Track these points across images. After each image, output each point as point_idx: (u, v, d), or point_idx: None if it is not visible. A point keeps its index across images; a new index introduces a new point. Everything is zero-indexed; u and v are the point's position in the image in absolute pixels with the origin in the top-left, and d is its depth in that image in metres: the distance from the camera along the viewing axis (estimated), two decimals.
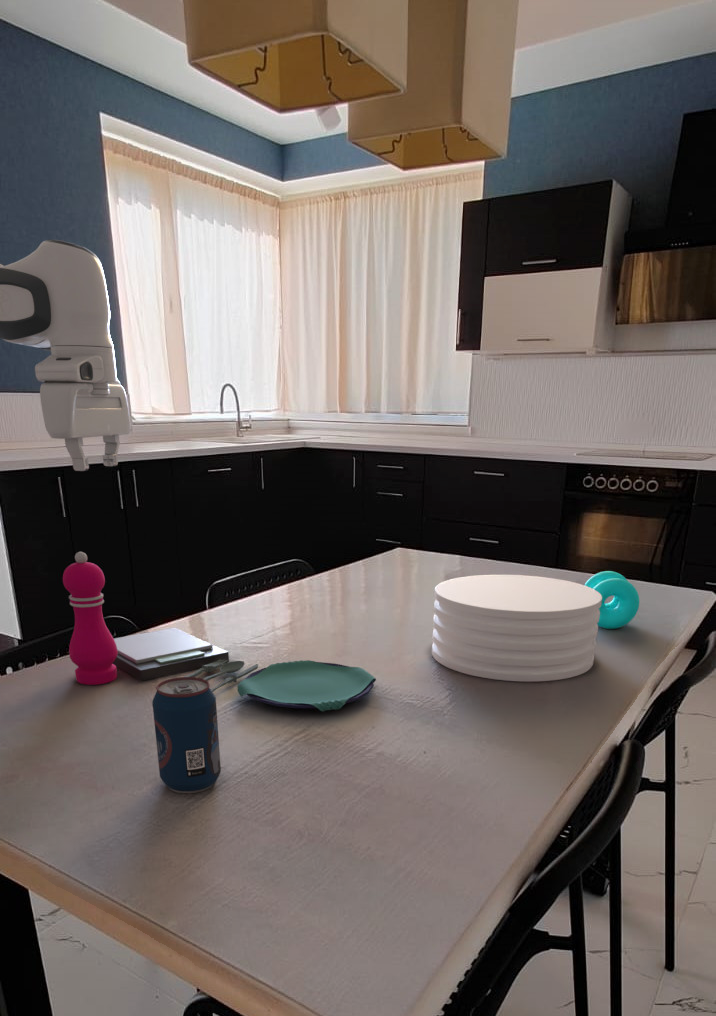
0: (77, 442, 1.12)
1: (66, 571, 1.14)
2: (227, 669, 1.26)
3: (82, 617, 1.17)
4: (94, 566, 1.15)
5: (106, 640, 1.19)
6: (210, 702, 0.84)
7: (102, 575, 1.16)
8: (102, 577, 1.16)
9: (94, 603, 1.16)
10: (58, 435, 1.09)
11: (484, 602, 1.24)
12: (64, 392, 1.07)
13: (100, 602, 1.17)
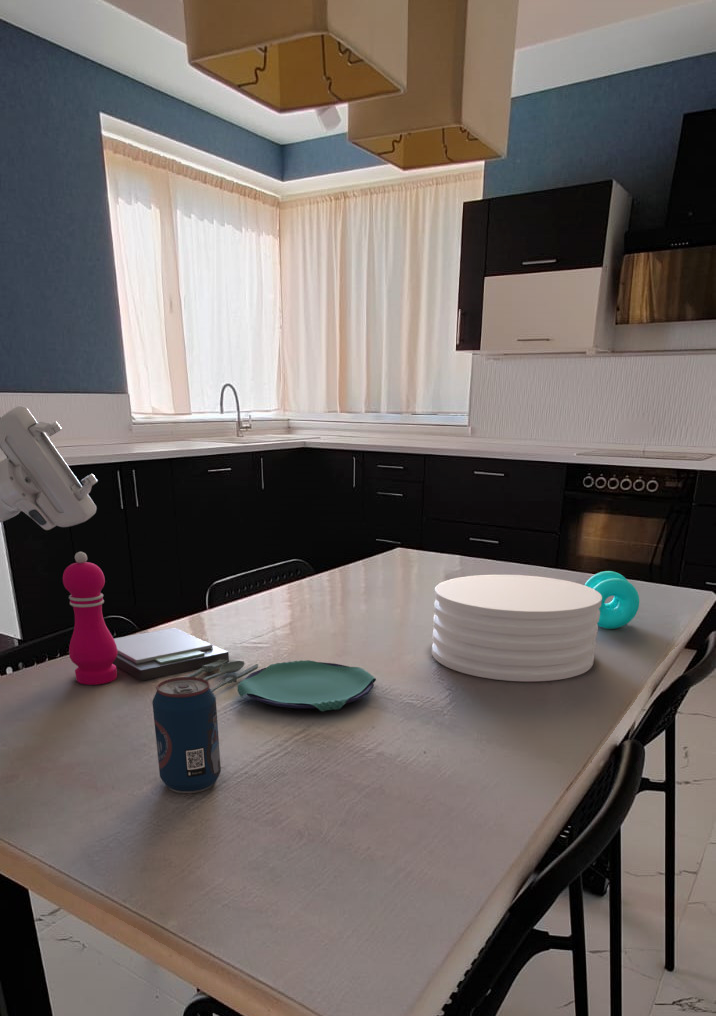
0: (81, 498, 1.32)
1: (66, 571, 1.14)
2: (227, 669, 1.26)
3: (82, 617, 1.17)
4: (94, 566, 1.15)
5: (105, 640, 1.19)
6: (210, 702, 0.84)
7: (102, 575, 1.16)
8: (102, 577, 1.16)
9: (94, 603, 1.16)
10: (92, 514, 1.35)
11: (484, 602, 1.24)
12: None
13: (100, 602, 1.17)
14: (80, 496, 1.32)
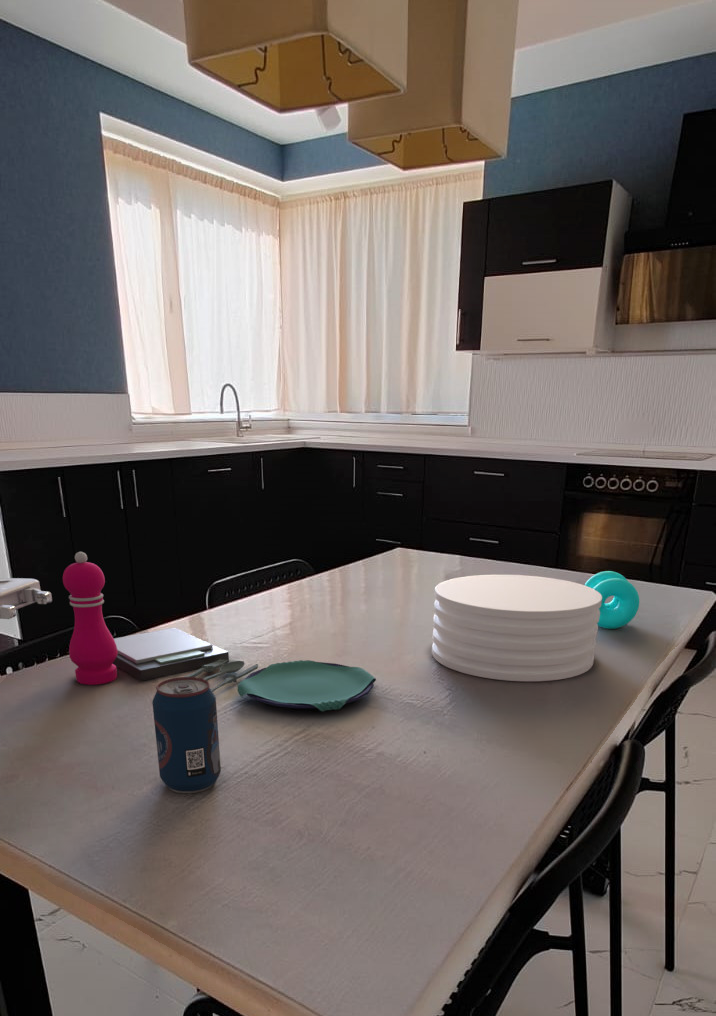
0: None
1: (66, 571, 1.14)
2: (227, 669, 1.26)
3: (82, 617, 1.17)
4: (94, 566, 1.15)
5: (105, 640, 1.19)
6: (210, 702, 0.84)
7: (102, 575, 1.16)
8: (102, 577, 1.16)
9: (94, 603, 1.16)
10: None
11: (484, 602, 1.24)
12: None
13: (100, 602, 1.17)
14: None
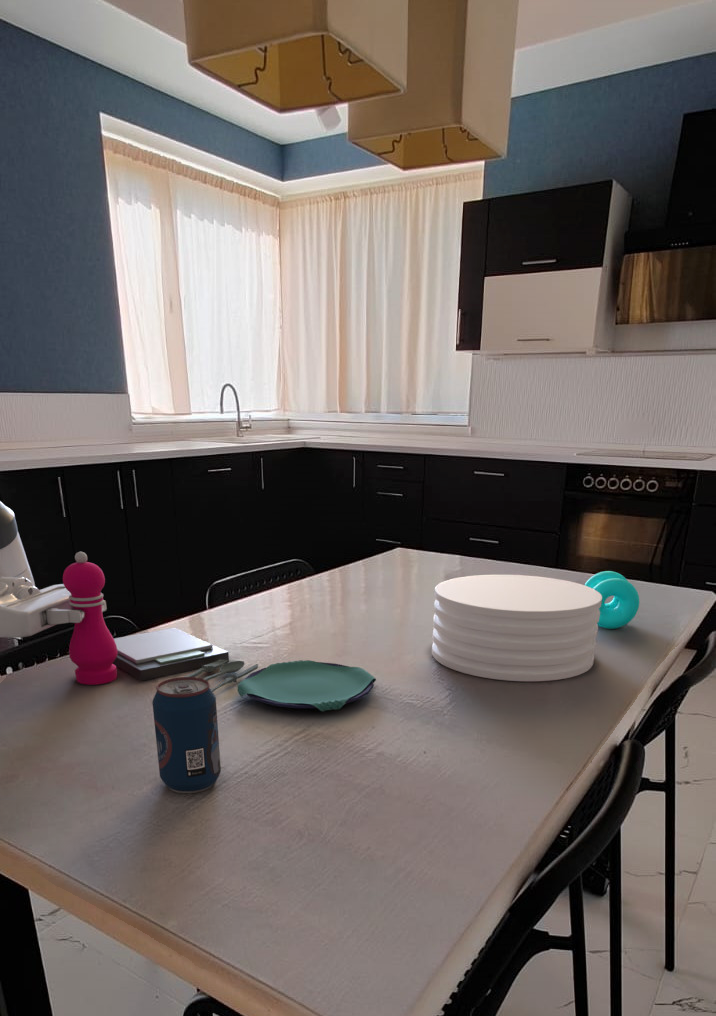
0: (50, 611, 1.14)
1: (66, 571, 1.14)
2: (227, 669, 1.26)
3: None
4: (94, 566, 1.15)
5: (105, 640, 1.19)
6: (210, 702, 0.84)
7: (102, 575, 1.16)
8: (102, 577, 1.16)
9: (94, 603, 1.16)
10: (24, 625, 1.10)
11: (484, 602, 1.24)
12: None
13: (100, 602, 1.17)
14: (53, 609, 1.15)
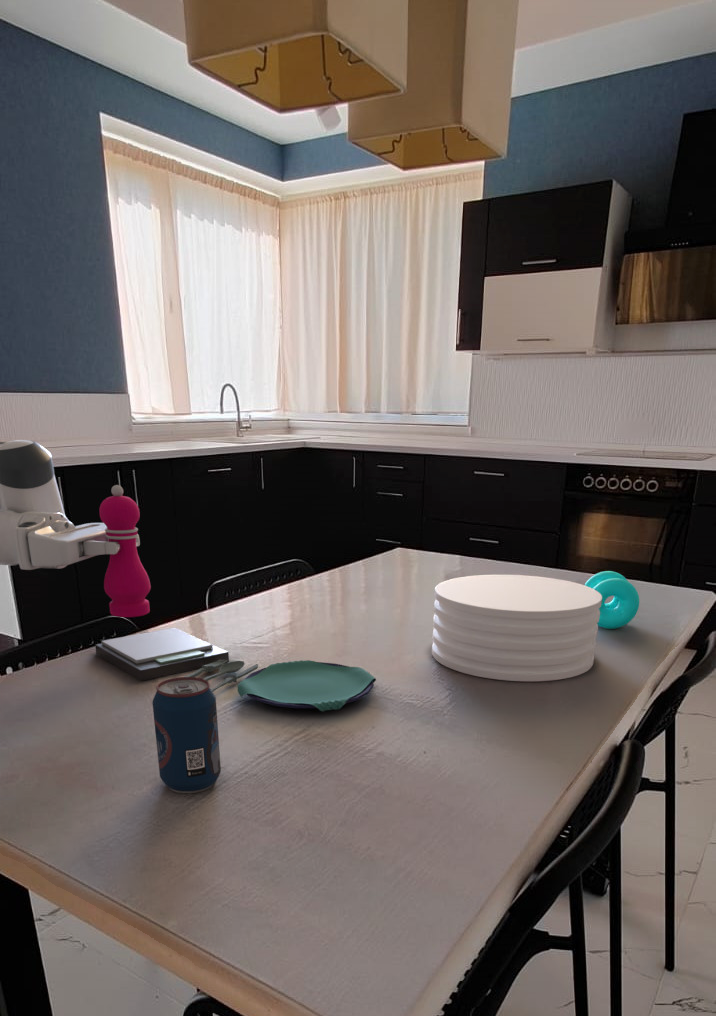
0: (87, 542, 1.18)
1: (103, 503, 1.18)
2: (227, 669, 1.26)
3: None
4: (130, 499, 1.19)
5: (140, 573, 1.22)
6: (210, 702, 0.84)
7: (137, 508, 1.20)
8: (137, 510, 1.19)
9: (129, 536, 1.20)
10: (63, 553, 1.14)
11: (484, 602, 1.24)
12: (30, 541, 1.15)
13: (135, 535, 1.21)
14: (89, 541, 1.18)
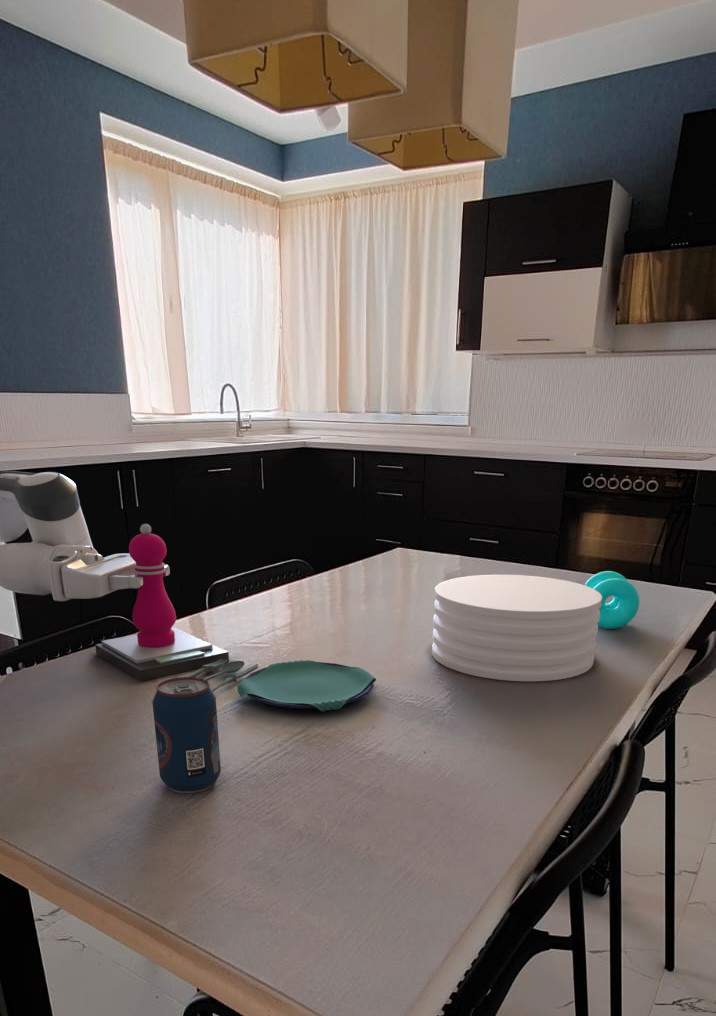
0: (112, 577, 1.23)
1: (132, 541, 1.25)
2: (227, 669, 1.26)
3: (146, 584, 1.27)
4: (157, 537, 1.26)
5: (166, 606, 1.29)
6: (210, 702, 0.84)
7: (164, 545, 1.27)
8: (164, 547, 1.26)
9: (157, 571, 1.27)
10: (95, 587, 1.20)
11: (484, 602, 1.24)
12: (64, 574, 1.21)
13: (162, 570, 1.27)
14: (114, 576, 1.23)
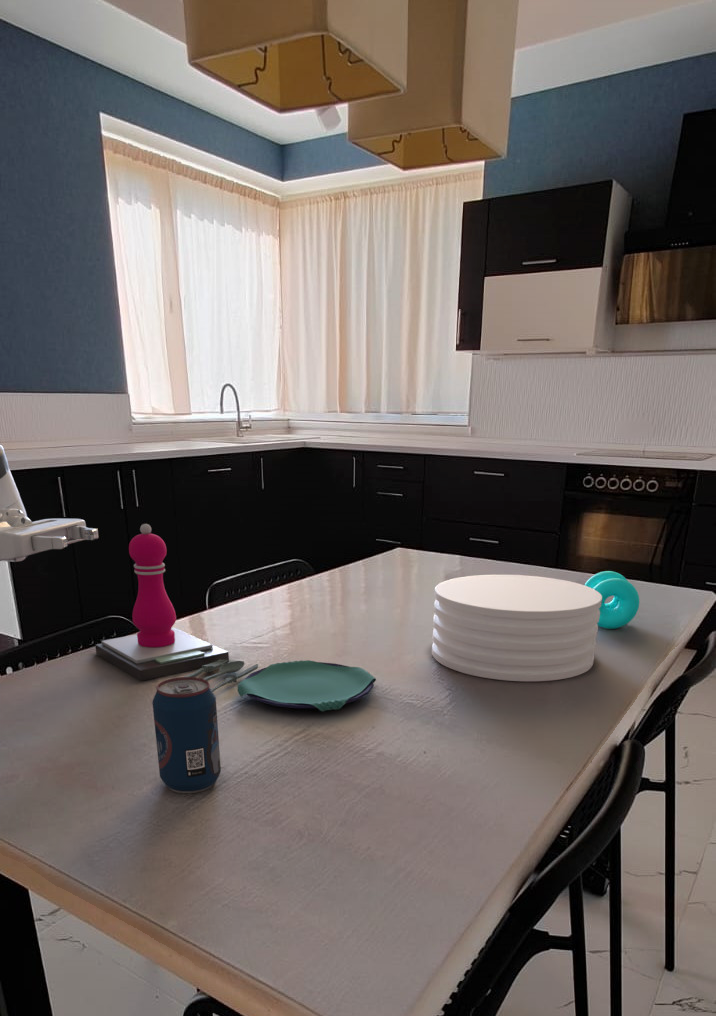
0: (34, 537, 1.23)
1: (132, 541, 1.25)
2: (227, 669, 1.26)
3: (146, 584, 1.27)
4: (157, 537, 1.26)
5: (166, 606, 1.29)
6: (210, 702, 0.84)
7: (164, 545, 1.27)
8: (164, 547, 1.26)
9: (157, 571, 1.27)
10: (17, 546, 1.21)
11: (484, 602, 1.24)
12: None
13: (162, 570, 1.27)
14: (37, 536, 1.23)
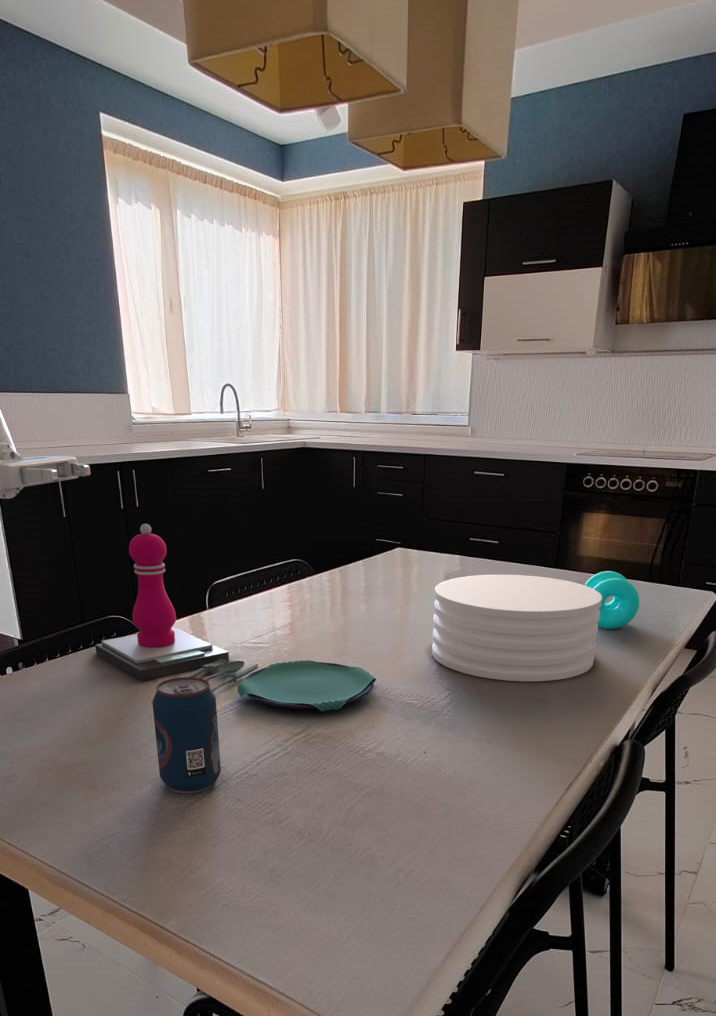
0: (24, 469, 1.19)
1: (132, 541, 1.25)
2: (227, 669, 1.26)
3: (146, 584, 1.27)
4: (157, 537, 1.26)
5: (166, 606, 1.29)
6: (210, 702, 0.84)
7: (164, 545, 1.27)
8: (164, 547, 1.26)
9: (157, 571, 1.27)
10: (5, 477, 1.17)
11: (484, 602, 1.24)
12: None
13: (162, 570, 1.27)
14: (26, 468, 1.19)
